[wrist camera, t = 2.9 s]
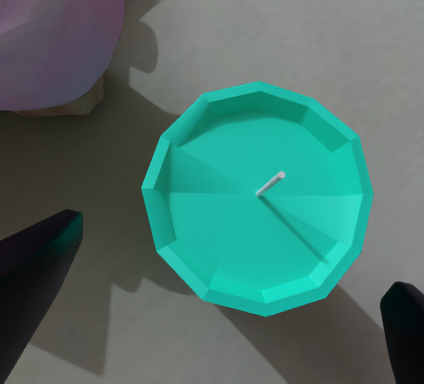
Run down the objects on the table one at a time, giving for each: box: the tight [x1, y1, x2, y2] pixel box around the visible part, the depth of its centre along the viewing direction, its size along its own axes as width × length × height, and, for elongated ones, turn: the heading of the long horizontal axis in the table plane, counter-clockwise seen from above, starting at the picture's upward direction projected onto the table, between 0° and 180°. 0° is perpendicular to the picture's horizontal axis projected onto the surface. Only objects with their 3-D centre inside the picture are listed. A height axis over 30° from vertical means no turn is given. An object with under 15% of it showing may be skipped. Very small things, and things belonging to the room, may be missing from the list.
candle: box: [141, 81, 374, 317], centre depth 12 cm, size 6×6×12 cm
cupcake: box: [0, 0, 125, 118], centre depth 14 cm, size 9×9×10 cm
